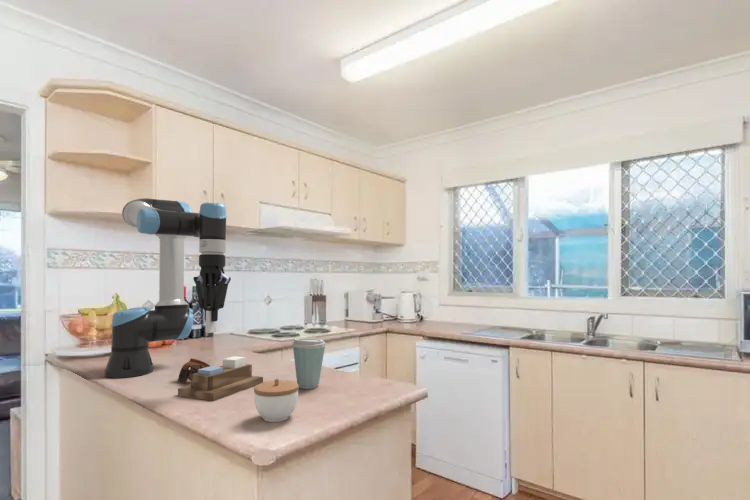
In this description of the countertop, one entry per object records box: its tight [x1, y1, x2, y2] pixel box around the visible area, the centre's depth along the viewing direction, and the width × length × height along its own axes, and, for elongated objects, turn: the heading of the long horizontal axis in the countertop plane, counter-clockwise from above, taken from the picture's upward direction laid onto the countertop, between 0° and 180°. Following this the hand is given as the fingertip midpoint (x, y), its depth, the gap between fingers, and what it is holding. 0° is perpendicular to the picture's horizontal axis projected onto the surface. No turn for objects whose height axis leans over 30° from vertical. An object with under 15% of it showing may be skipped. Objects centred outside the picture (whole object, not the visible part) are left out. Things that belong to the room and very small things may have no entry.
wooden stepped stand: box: [177, 363, 264, 402], centre depth 130 cm, size 14×21×6 cm, turn 156°
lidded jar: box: [253, 378, 299, 423], centre depth 104 cm, size 11×11×9 cm
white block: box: [222, 355, 247, 369], centre depth 135 cm, size 5×5×4 cm
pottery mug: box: [177, 357, 211, 384], centre depth 141 cm, size 12×10×8 cm
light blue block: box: [198, 365, 223, 376], centre depth 126 cm, size 5×5×4 cm
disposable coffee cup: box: [291, 337, 327, 390], centre depth 133 cm, size 11×11×15 cm
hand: (210, 332), depth 127 cm, fingers closed
